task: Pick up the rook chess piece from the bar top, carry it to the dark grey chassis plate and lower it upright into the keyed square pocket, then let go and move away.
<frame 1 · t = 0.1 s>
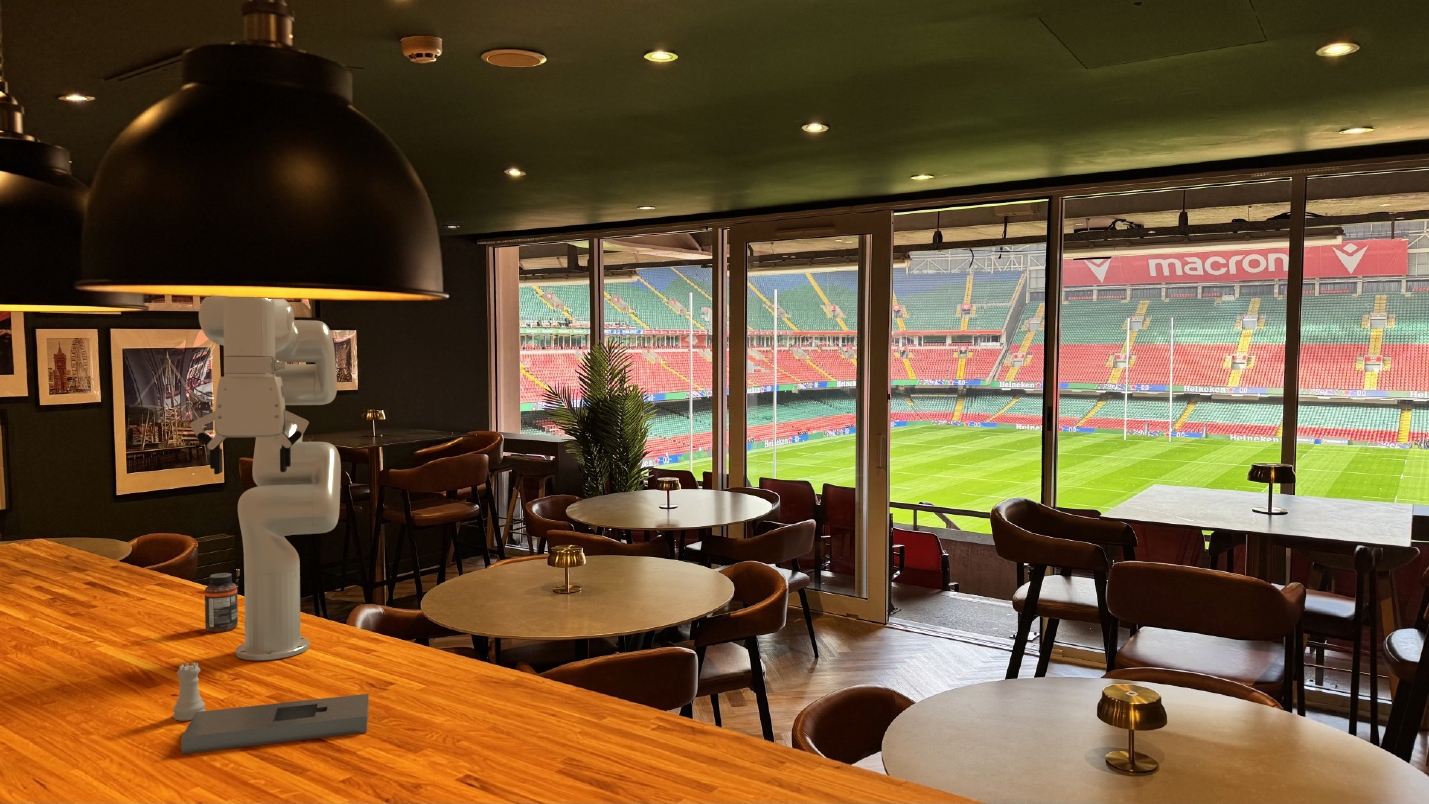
hand: (251, 472, 149), 37 cm above the table, tool pointing down, fingers open, 9 cm apart
supplement bottle: (221, 630, 188), on the table
rook chess piece: (189, 717, 140), on the table
pocket plate: (281, 730, 135), on the table
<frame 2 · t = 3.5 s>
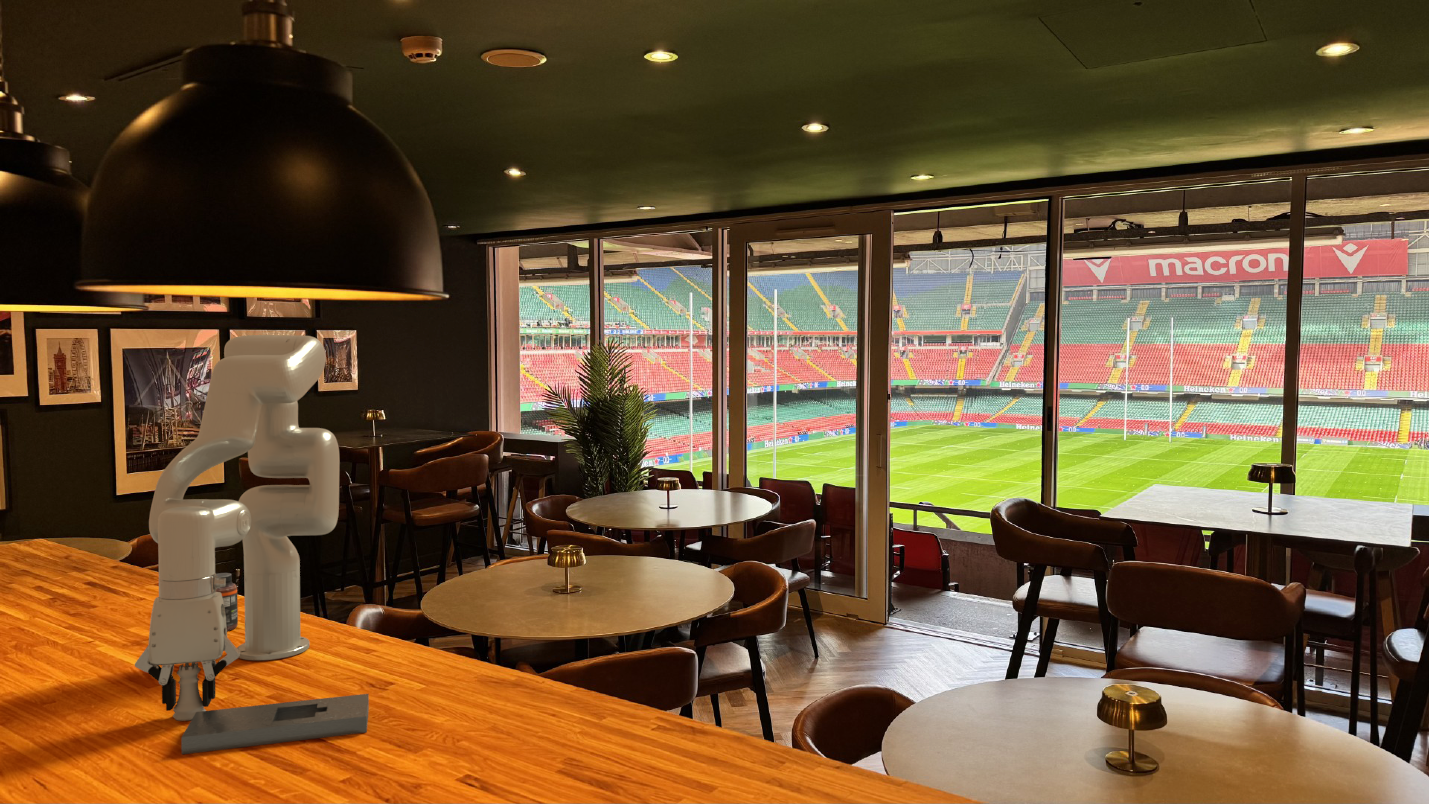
hand: (189, 704, 140), 2 cm above the table, tool pointing down, fingers closed on rook chess piece, 4 cm apart
rook chess piece: (189, 717, 140), on the table, touching gripper
everything else where it was.
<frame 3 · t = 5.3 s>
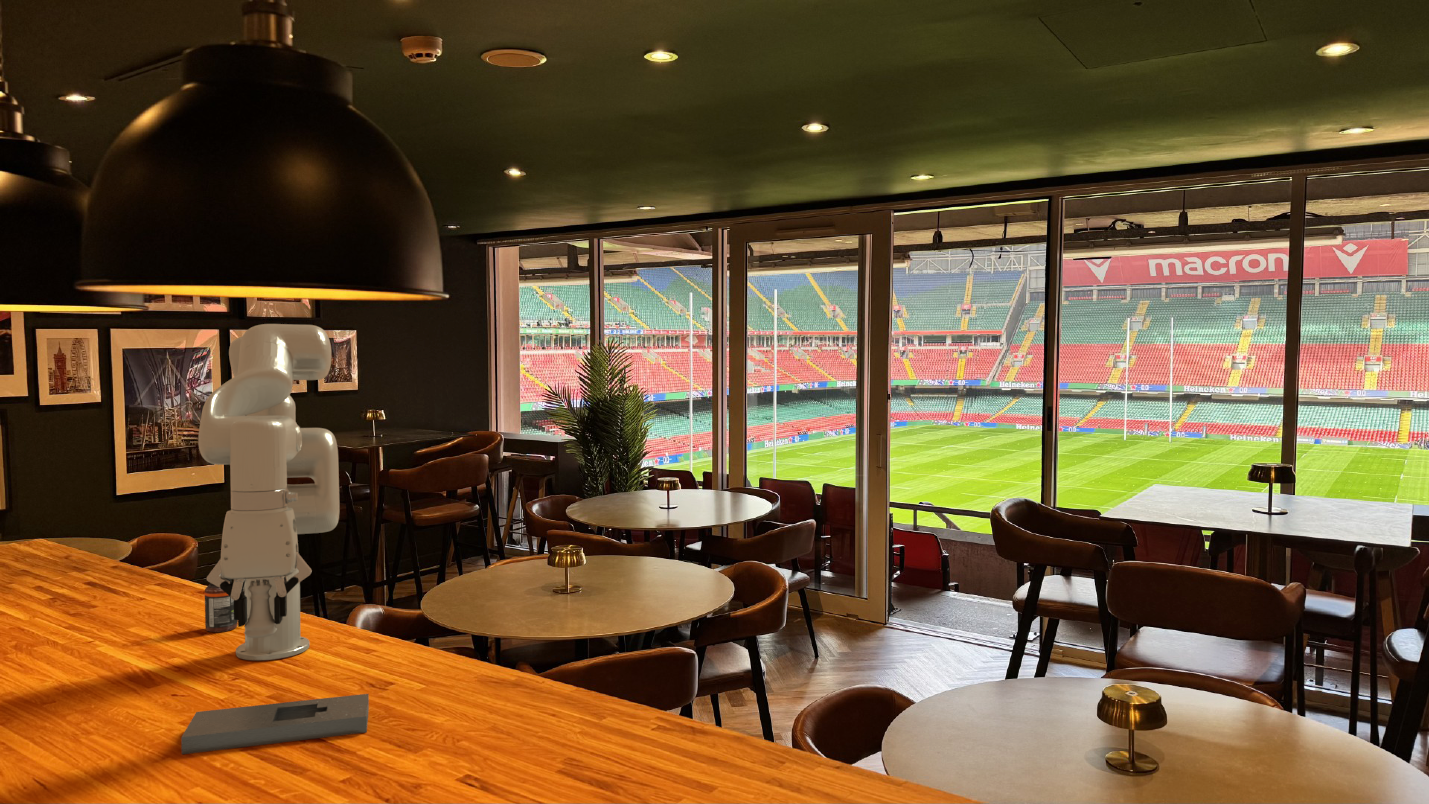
hand: (260, 621, 136), 16 cm above the table, tool pointing down, fingers closed on rook chess piece, 4 cm apart
rook chess piece: (260, 635, 136), point 14 cm above the table, touching gripper
everything else where it was.
when the fingers open (3 cm above the table, at t = 7.5 s): rook chess piece drops 1 cm, resting on pocket plate.
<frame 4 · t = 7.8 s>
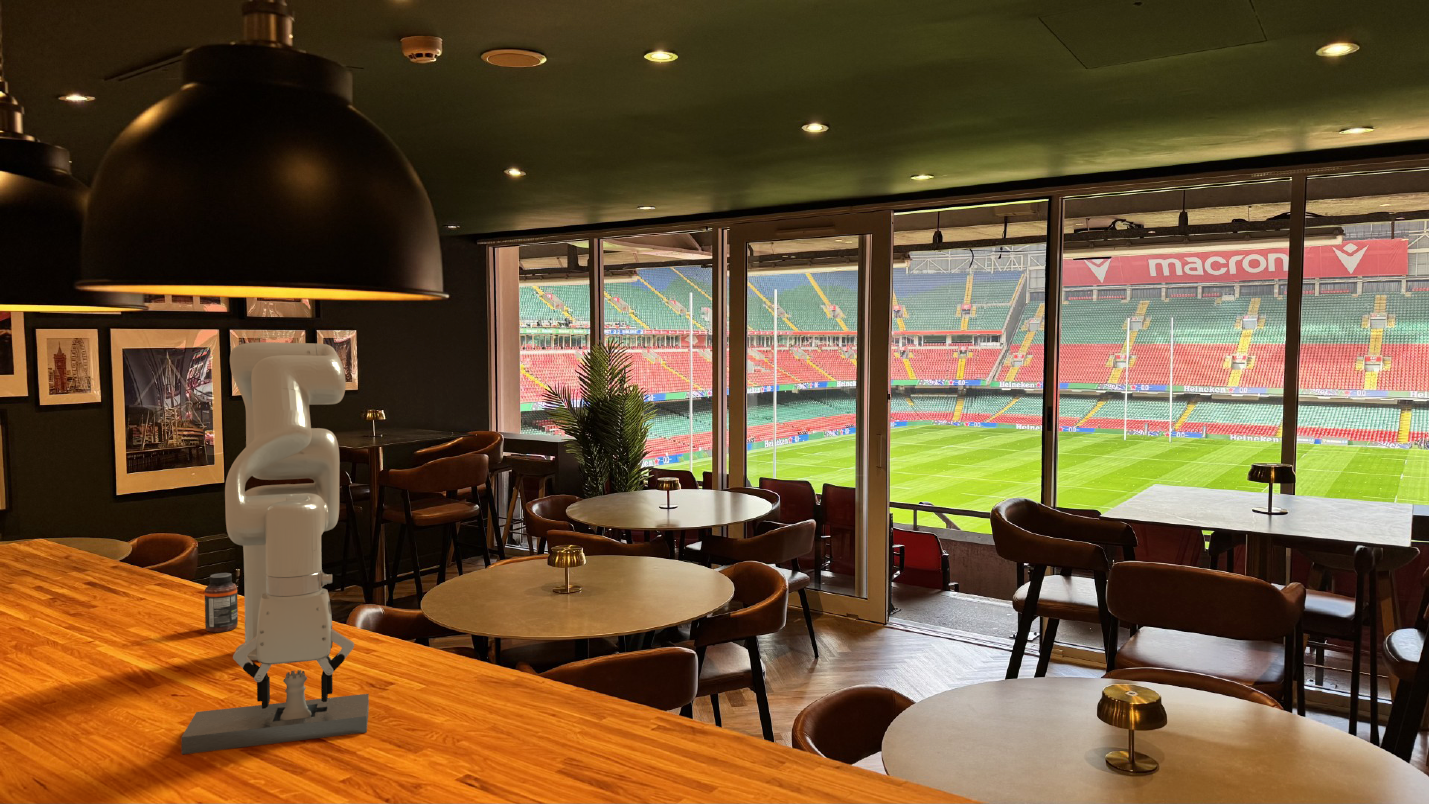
hand: (295, 701, 135), 4 cm above the table, tool pointing down, fingers open, 7 cm apart
rook chess piece: (295, 727, 135), resting on pocket plate
everything else where it was.
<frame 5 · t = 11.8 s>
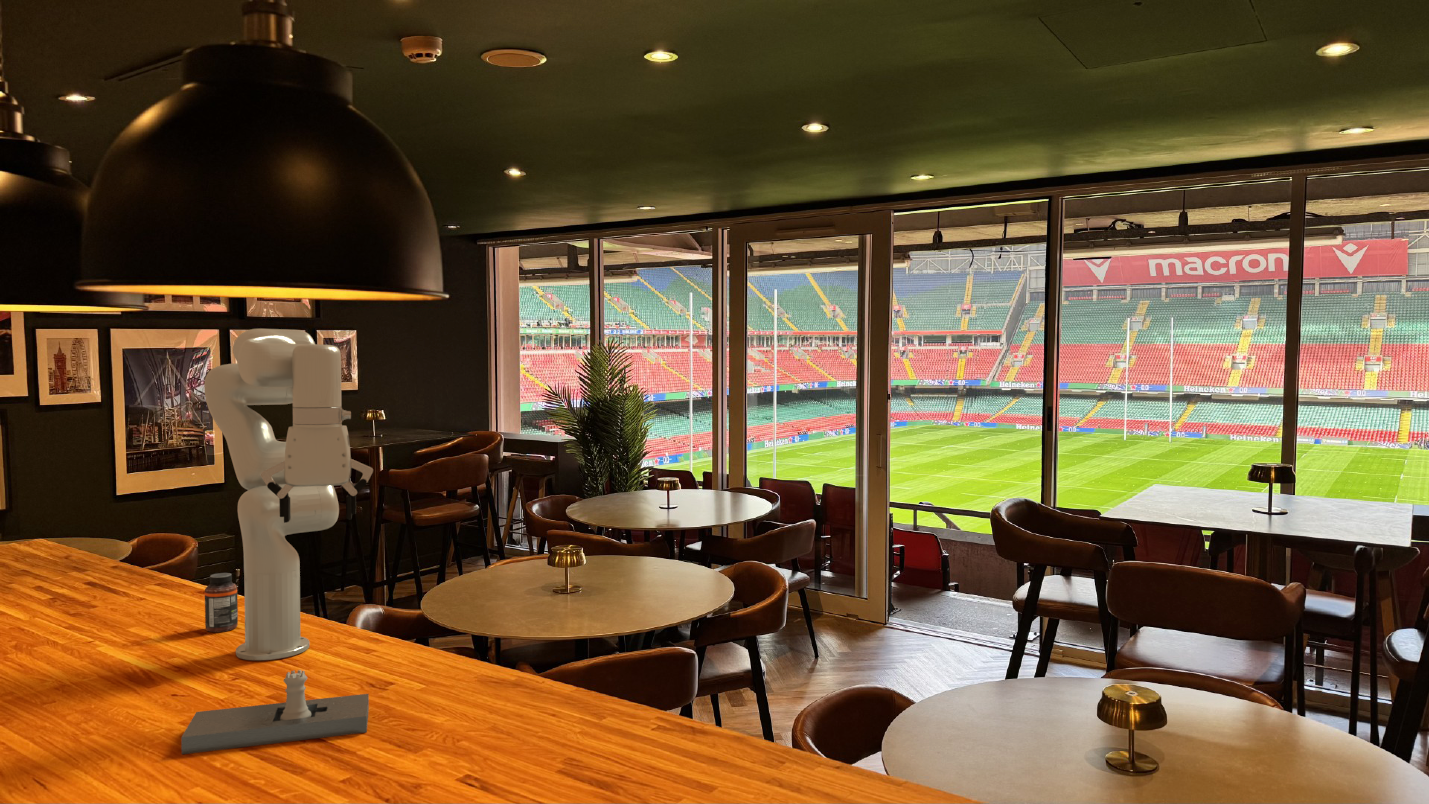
hand: (318, 519, 153), 28 cm above the table, tool pointing down, fingers open, 9 cm apart
nothing on the table moved.
at the end: rook chess piece 0.1 cm from the target spot on the pocket plate, point 0.1 cm above the pocket plate's base; rook chess piece tilted 0°; the gripper is holding nothing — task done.
